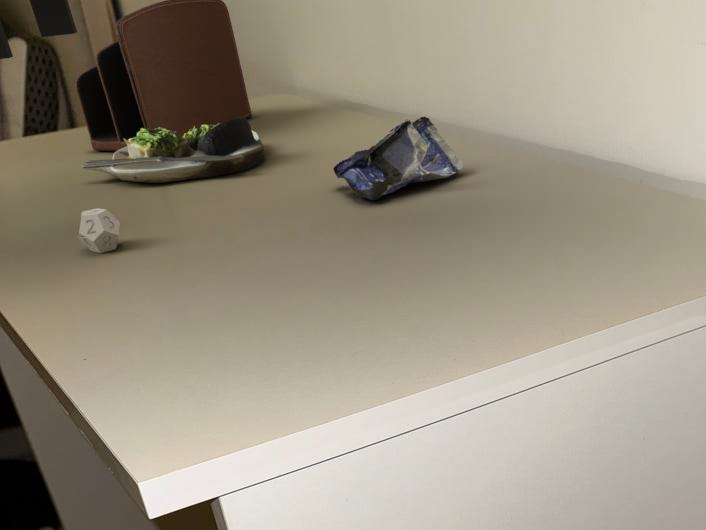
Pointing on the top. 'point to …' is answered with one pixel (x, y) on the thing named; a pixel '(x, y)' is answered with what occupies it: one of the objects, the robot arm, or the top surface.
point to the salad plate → (184, 153)
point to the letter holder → (164, 74)
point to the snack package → (399, 160)
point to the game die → (99, 230)
